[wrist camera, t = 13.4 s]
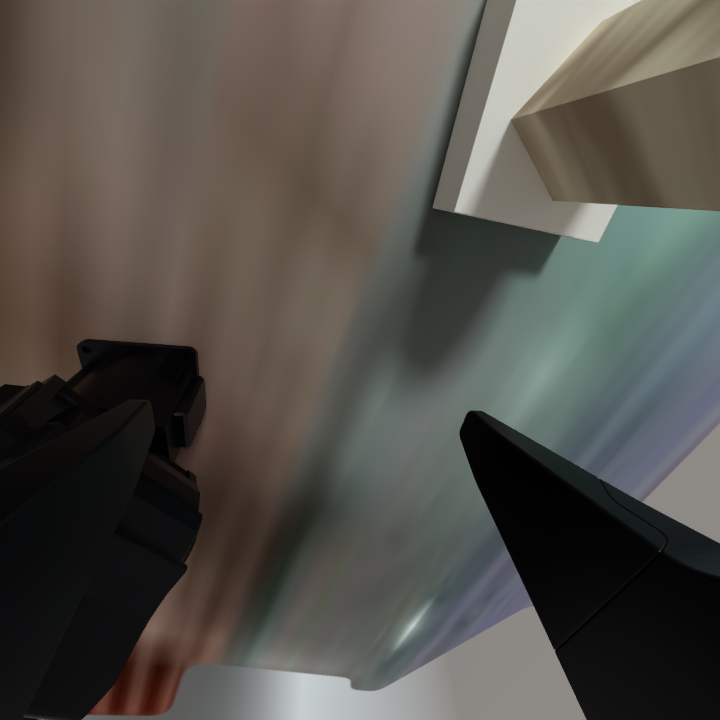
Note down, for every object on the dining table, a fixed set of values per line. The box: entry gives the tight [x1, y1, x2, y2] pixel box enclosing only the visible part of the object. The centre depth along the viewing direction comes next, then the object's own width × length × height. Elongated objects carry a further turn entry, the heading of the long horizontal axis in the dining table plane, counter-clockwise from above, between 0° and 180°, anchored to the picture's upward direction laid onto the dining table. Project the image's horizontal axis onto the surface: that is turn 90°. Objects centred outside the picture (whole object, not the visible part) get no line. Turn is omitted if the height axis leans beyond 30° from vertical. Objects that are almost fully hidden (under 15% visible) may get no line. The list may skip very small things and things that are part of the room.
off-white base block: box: [432, 0, 641, 242], centre depth 17 cm, size 10×10×3 cm
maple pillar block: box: [511, 0, 720, 211], centre depth 10 cm, size 5×5×12 cm
